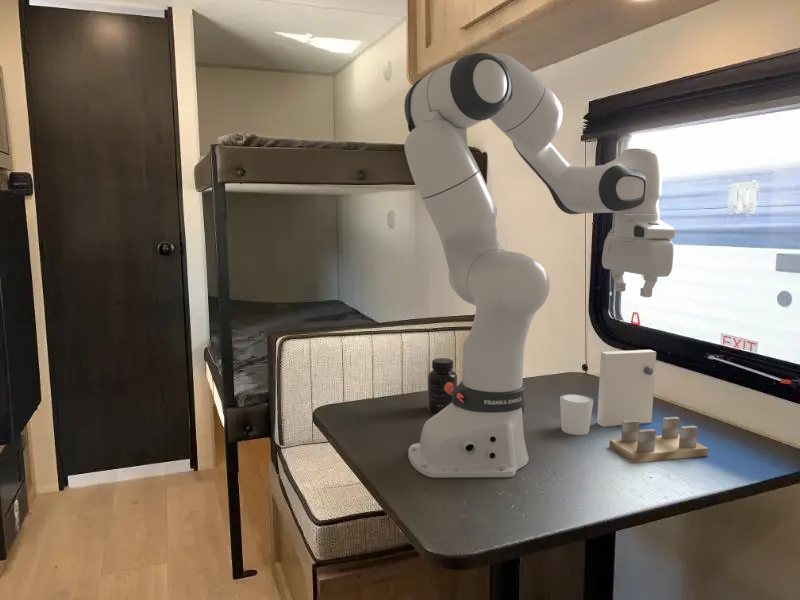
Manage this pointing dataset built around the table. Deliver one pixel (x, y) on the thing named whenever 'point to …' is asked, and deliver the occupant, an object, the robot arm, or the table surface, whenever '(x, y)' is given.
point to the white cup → (575, 413)
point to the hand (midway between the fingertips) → (632, 293)
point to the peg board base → (658, 442)
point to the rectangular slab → (626, 387)
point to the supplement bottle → (440, 384)
